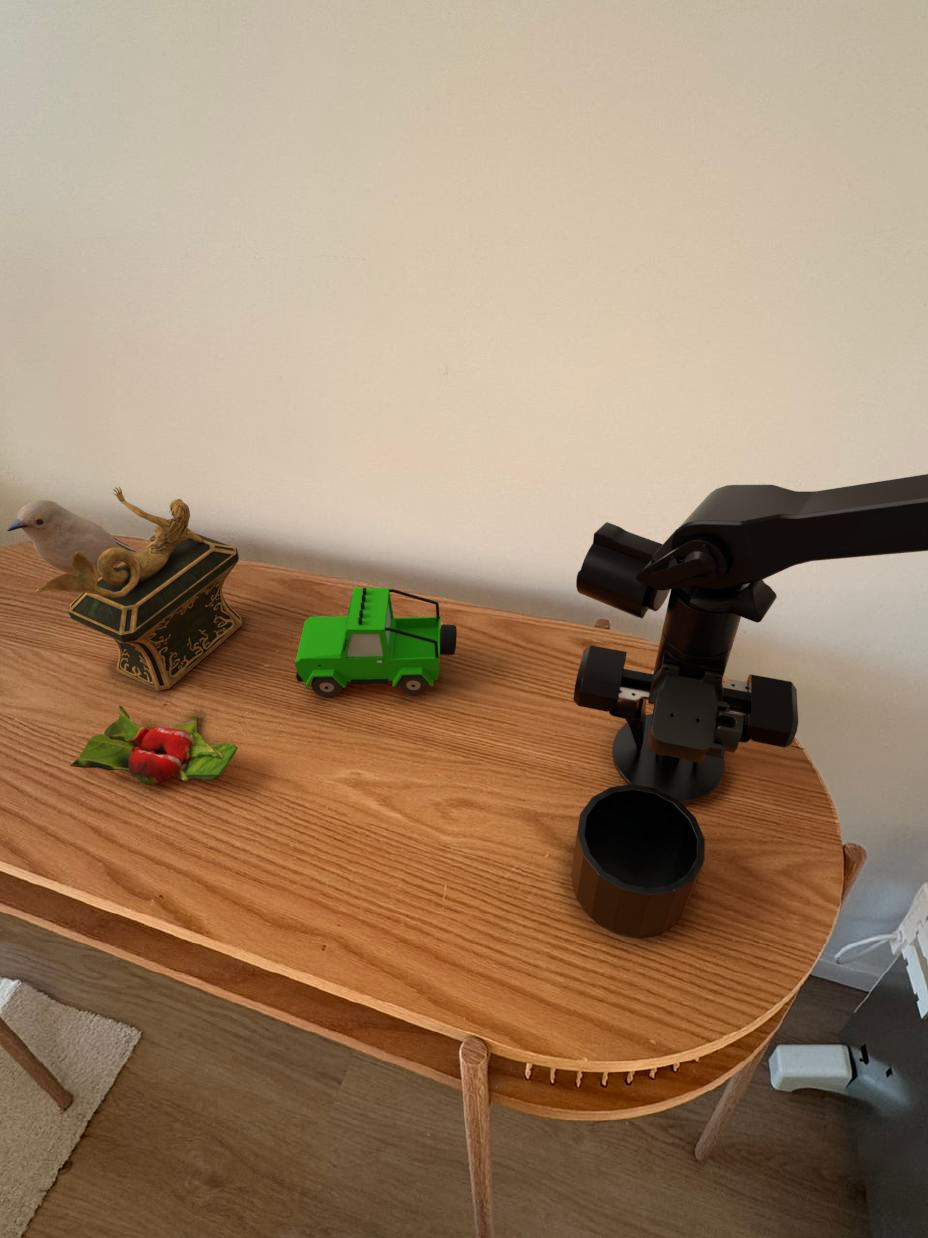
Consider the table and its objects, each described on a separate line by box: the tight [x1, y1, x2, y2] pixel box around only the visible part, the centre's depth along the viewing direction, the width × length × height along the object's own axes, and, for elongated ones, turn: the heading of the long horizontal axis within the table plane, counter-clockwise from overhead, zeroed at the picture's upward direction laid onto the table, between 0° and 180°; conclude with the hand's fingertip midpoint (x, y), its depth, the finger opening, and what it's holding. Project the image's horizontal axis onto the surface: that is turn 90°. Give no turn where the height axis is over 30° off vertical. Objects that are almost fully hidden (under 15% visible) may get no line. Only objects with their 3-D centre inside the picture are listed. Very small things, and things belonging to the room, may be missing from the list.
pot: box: [570, 784, 706, 939], centre depth 60 cm, size 10×10×7 cm
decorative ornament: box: [70, 705, 238, 787], centre depth 72 cm, size 15×5×10 cm
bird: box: [6, 499, 138, 579], centre depth 89 cm, size 5×14×15 cm, turn 145°
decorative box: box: [35, 486, 243, 692], centre depth 78 cm, size 20×10×20 cm, turn 151°
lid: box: [611, 713, 726, 805], centre depth 70 cm, size 11×11×5 cm
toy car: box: [294, 587, 458, 698], centre depth 78 cm, size 8×17×10 cm, turn 90°
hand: (667, 752), depth 71 cm, fingers open, 5 cm apart
